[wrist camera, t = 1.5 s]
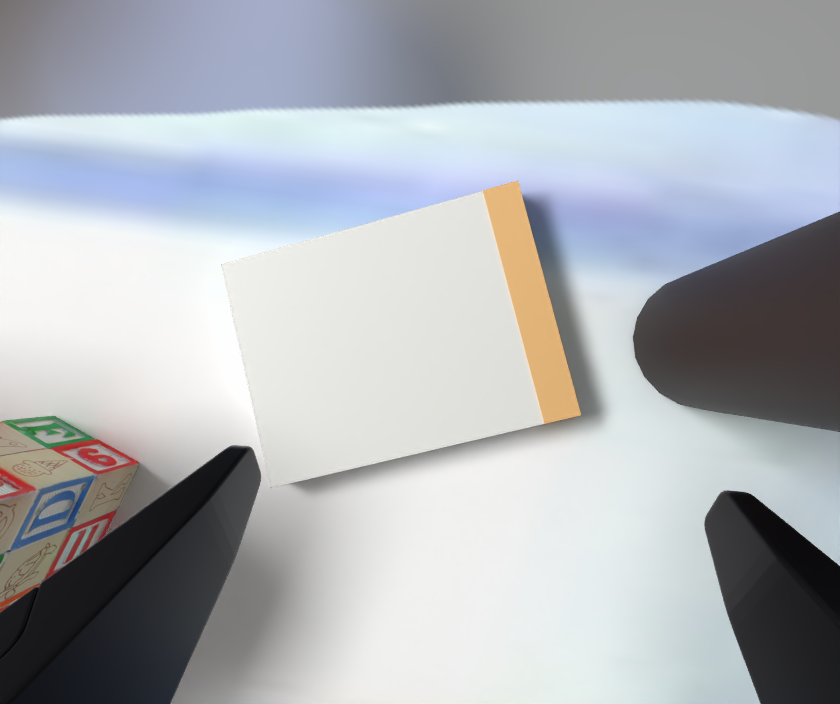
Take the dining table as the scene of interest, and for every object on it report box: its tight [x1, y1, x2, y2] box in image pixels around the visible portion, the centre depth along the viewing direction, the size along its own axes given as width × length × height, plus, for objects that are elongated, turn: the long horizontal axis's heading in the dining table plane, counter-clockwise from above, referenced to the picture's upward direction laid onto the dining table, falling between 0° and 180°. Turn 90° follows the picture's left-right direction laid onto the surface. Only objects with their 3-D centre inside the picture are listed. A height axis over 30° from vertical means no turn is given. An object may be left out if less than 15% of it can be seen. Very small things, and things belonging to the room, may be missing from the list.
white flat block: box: [221, 181, 581, 488], centre depth 22 cm, size 12×16×2 cm
